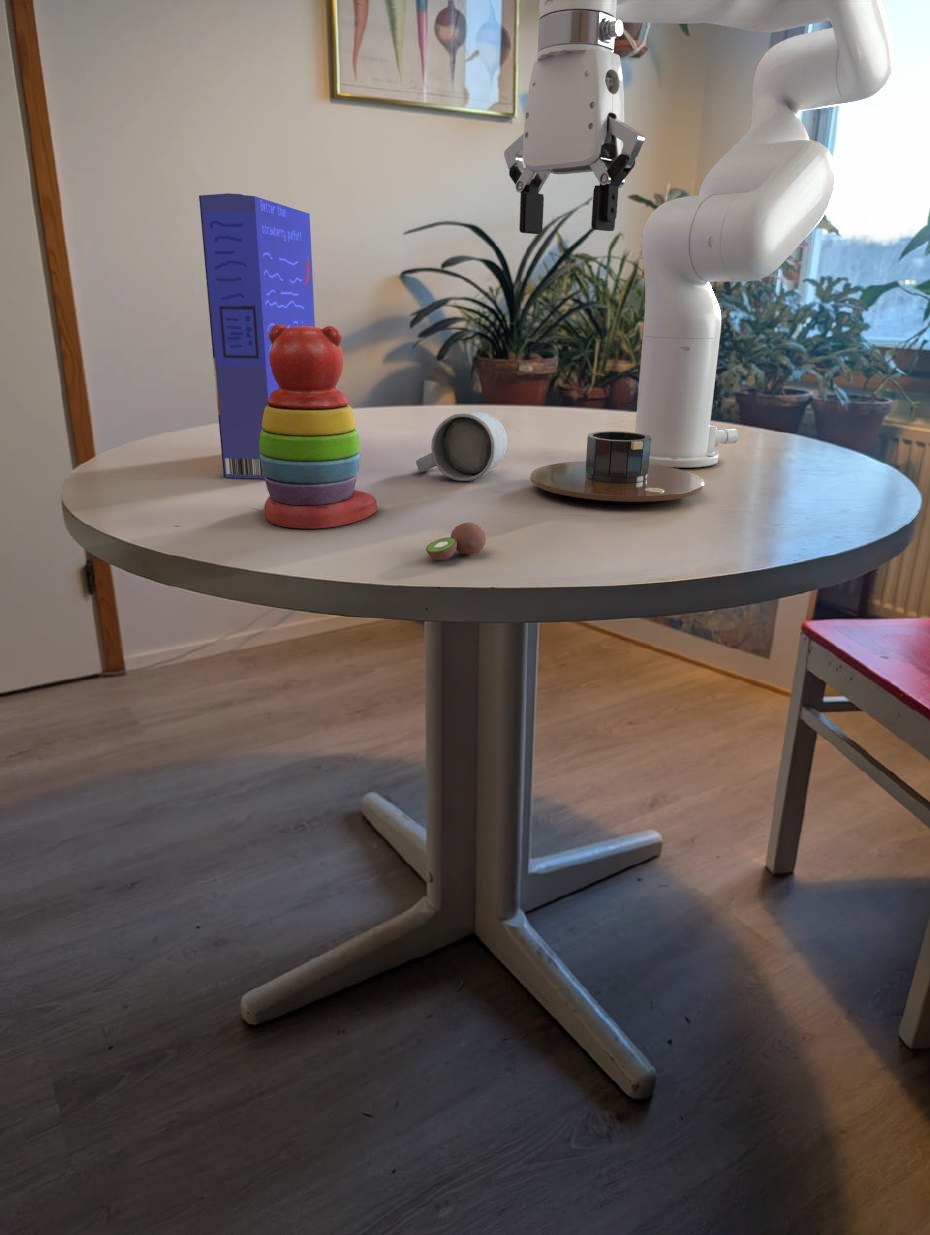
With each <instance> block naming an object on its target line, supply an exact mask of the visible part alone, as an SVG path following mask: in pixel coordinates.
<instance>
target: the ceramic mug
mask: <svg viewBox="0 0 930 1235" xmlns="http://www.w3.org/2000/svg"><path fill="white" fill-rule="evenodd" d="M430 448H431V452H430V453H428V454H426V455H424V456H422V457H420V458H419V459H417V460H416V461H415V464H416V467H417V469H418V472H419V473H423V472H426V471H429V470H430V469H434V468H435V467H437V468H438V470H439V472H441V473H442V474H443V475H444V476H446V477H447V478H449V479H452V480H454V481H457V482H471V481H472V482H473V481H474V480H477V479H479V478H481V477H482V476H483V475H485V474H486V473H488V472H490V471H491V470H493V469H494V468H496V467H497V466H498V465H499V464H500V463H501V461H502V460H503V458H504V456H505V455H506V452H507V450H508V449H507V448H508V435H507V431H506V429H505V427H504V426H503V424H502V422H500V421H499V420H498V419H497V418H496V417H495V416H493V415H491V414H489V413H487V412H483V411H471V412H464V413H455V414H453V415H450V416H448V417H446V418H445V419H444V420H443V421H442V422H440V423H439V424H438V426H437V427H436V429H435V431H434V434H433V435H432V438H431V447H430Z"/></svg>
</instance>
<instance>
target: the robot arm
mask: <svg viewBox="0 0 930 1235" xmlns="http://www.w3.org/2000/svg"><path fill="white" fill-rule="evenodd" d="M538 10H539V11H538V32H537V33H538V37H537V38H538V39H537V56H536V57H537V58H536V59H537V60H536V61H533V64H532V69H531V73H530V78H529V84H528V91H527V97H526V106H525V114H524V122H523V123H524V124H523V133H522V134H521V135H520V136H519V137H518V138H517V139H515V141H513V142H512V144H510V145H509V146H508V147H507V148H506V149H505V150H504V152H503V154H504V155H503V156H504V160H505V163H506V166H507V169H508V176H509V178H510V179H511V181H512V182H513V183H514V185H515V191H516V192H517V193H520V199H519V200H520V201H519V202H520V203H519V232H520V233H522V234H530V235H541V234H542V233H543V228H544V207H545V206H544V204H545V197H544V194H543V193H540V192H541V190H542V188H543V186H544V184H545V183H546V182H547V179H548V178H549V176H550V175H551V174H553V175H571V174H581V173H590V172H591V173H592V172H593V174H594V176H595V178H596V179H597V181H598V183H599V185H594V187H593V191H592V192H593V193H592V207H591V208H592V209H591V224H590V226H591V228H592V229H593V230H594V231H603V232H614V230H615V227H616V219H617V215H618V203H619V202H618V199H619V189H620V188H623V186H624V184H625V181H626V178H627V177H628V176H629V174H630V173H631V171H632V170H633V169H634V167H635V165H636V158H638V156H639V153H640V151H641V149H642V147H643V144H644V143H645V138H646V136H645V135H644V134H643V133H642V132H640V131H638V130H637V129H635V128H633V127H632V126H630V125H628V124H626V123H625V94H624V93H625V91H624V79H623V71H622V63H621V62H622V61H621V57H620V55H619V54H617V53H614V48H615V39H617V37H621V36H622V35H623V33H624V24H623V23H628V24H629V23H630V24H631V23H632V24H637V23H639V24H646V23H647V24H650V23H651V24H653V23H654V24H675V25H676V24H678V25H679V24H681V25H682V24H684V25H686V24H687V25H688V24H703V23H704V24H705V23H706V24H711V25H716V26H723V27H729V28H733V29H738V30H743V31H749V32H753V33H760V34H772V33H778V32H783V31H788V30H791V29H795V28H801V27H805V26H809V25H814V24H818V23H822V22H827V21H829V23H830V24H831V27H829V28H824V29H823V28H822V29H820V30H815V31H811V32H806V33H802V34H798V35H794V36H792V37H788V38H786V39H784V40H781V41H780V42H778V43H776V44H774V45H773V46H772V47H771V48H769V49H768V50H767V51H766V52H765V54H764V55H763V56H762V58H761V59H760V61H759V62H758V64H757V67H756V69H755V72H754V76H753V82H752V98H751V99H752V100H751V122H750V123H751V124H750V129H748V131H747V132H746V133H745V134H744V135H743V136H742V137H741V138H740V139H739V140H738V141H737V142H736V143H735V144H734V145H733V146H732V147H731V148H730V149H729V150H728V151H727V152H726V153H725V154H724V155H723V156H722V157H721V158H720V159H719V160H718V161H717V162H716V163H715V164H714V165H713V167H712V168H711V169H710V170H709V172H708V173H707V175H705V178H704V179H703V181H702V184H701V186H700V189H699V192H698V195H690V196H689V195H688V196H682V197H677V198H674V199H670V200H668V201H665V202H664V203H661V204H660V205H659V206H657V207H656V208H655V209H654V210H653V211H652V212H651V213H650V215H649V216H648V218H647V220H646V222H645V224H644V227H643V230H642V235H641V258H642V266H643V274H644V275H643V276H644V313H643V314H644V316H643V330H642V342H641V352H640V353H641V354H640V367H639V379H638V390H637V402H636V414H635V427H634V433H641V434H645V435H649V436H650V437H651V446H650V457H649V464H653V465H660V466H666V467H671V468H676V469H691V468H694V469H695V468H703V467H710V466H714V465H716V464H717V463H718V462H719V457H720V454H719V452H718V451H716V450H715V448H716V447H717V446H719V444H722V445H729V444H736V443H737V442H738V441H739V437H740V435H739V431H738V430H737V429H736V428H727V429H725V428H724V429H721V430H720V429H718V428H717V425H712V424H711V420H712V410H713V402H714V393H715V392H714V391H715V383H716V374H717V366H718V357H719V348H720V340H721V331H722V314H721V309H720V306H719V303H718V300H717V298H716V296H715V293H714V291H713V289H712V285H711V283H713V282H720V283H721V282H724V283H725V282H726V283H727V282H728V283H729V282H732V283H733V282H734V283H735V282H737V283H738V282H740V283H741V282H754V281H759V280H762V279H765V278H767V277H768V276H769V275H772V274H773V273H774V272H775V271H776V270H777V269H778V268H779V267H781V265H783V264H784V262H785V261H786V260H787V259H788V258H789V257H790V256H791V255H792V254H793V253H794V251H796V249H797V248H798V247H799V246H800V245H801V244H802V242H804V240H805V239H806V238H807V237H808V236H809V235H810V234H811V233H812V231H813V230H814V229H815V228H816V227H817V226H818V224H819V223H820V222H821V221H822V219H823V218H824V216H825V214H826V212H827V211H828V208H829V207H830V204H831V202H832V198H833V195H834V191H835V187H836V179H837V178H836V176H837V174H836V173H837V171H836V164H835V161H834V158H833V156H832V153H831V152H830V150H829V149H828V148H827V147H826V146H825V145H824V144H822V143H821V142H819V141H817V140H813V139H810V138H809V135H808V131H807V129H806V127H805V125H804V124H803V122H802V121H801V119H800V117H799V116H800V113H801V112H804V111H810V110H817V109H822V108H823V109H824V108H829V107H836V106H843V105H849V104H855V103H860V102H865V101H867V100H869V99H871V98H873V97H874V96H876V95H877V94H879V92H880V91H881V90H883V88H884V87H885V86H886V84H887V82H888V80H889V78H890V75H891V73H892V69H893V66H894V58H895V56H894V54H895V52H894V51H895V50H894V46H895V45H894V39H893V33H892V30H891V25H890V22H889V19H888V16H887V12H886V9H885V6H884V3H883V0H539V8H538ZM524 166H525V167H524Z"/></svg>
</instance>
